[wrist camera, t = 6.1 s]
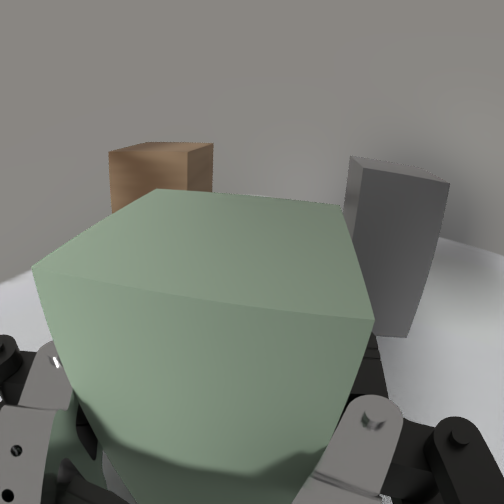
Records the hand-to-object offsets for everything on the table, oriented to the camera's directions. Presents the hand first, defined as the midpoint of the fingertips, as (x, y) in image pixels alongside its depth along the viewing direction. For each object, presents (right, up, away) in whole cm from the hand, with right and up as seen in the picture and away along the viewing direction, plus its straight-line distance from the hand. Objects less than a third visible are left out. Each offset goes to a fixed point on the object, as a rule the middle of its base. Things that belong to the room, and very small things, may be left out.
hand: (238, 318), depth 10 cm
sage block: (-1, -7, 0) cm, 7 cm away
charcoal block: (+8, -2, +11) cm, 14 cm away
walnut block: (-6, -1, +13) cm, 14 cm away
